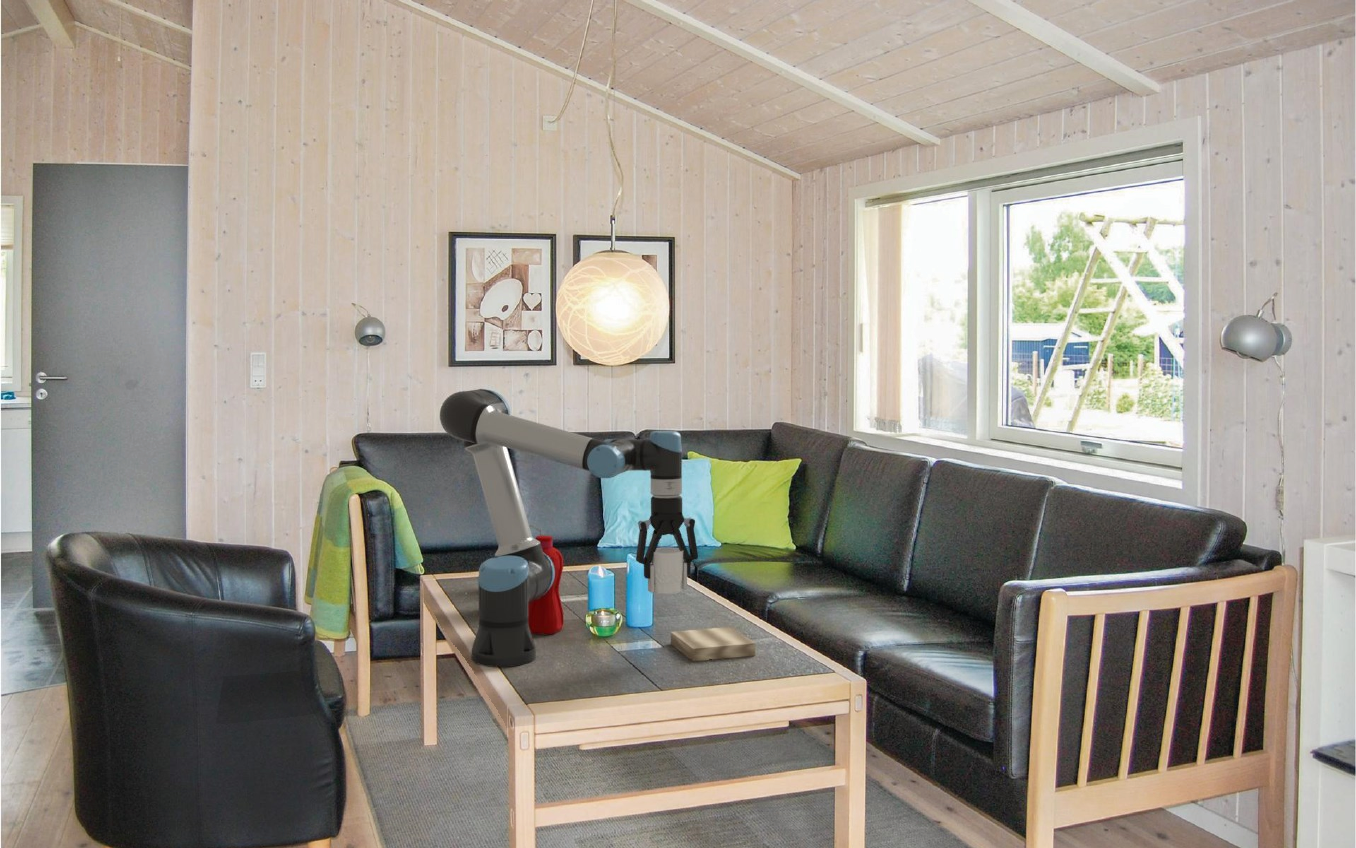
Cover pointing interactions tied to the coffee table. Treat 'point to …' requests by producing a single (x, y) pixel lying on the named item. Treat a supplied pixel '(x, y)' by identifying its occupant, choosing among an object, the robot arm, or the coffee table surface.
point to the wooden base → (712, 643)
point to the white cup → (667, 570)
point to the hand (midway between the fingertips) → (667, 590)
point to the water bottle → (548, 596)
